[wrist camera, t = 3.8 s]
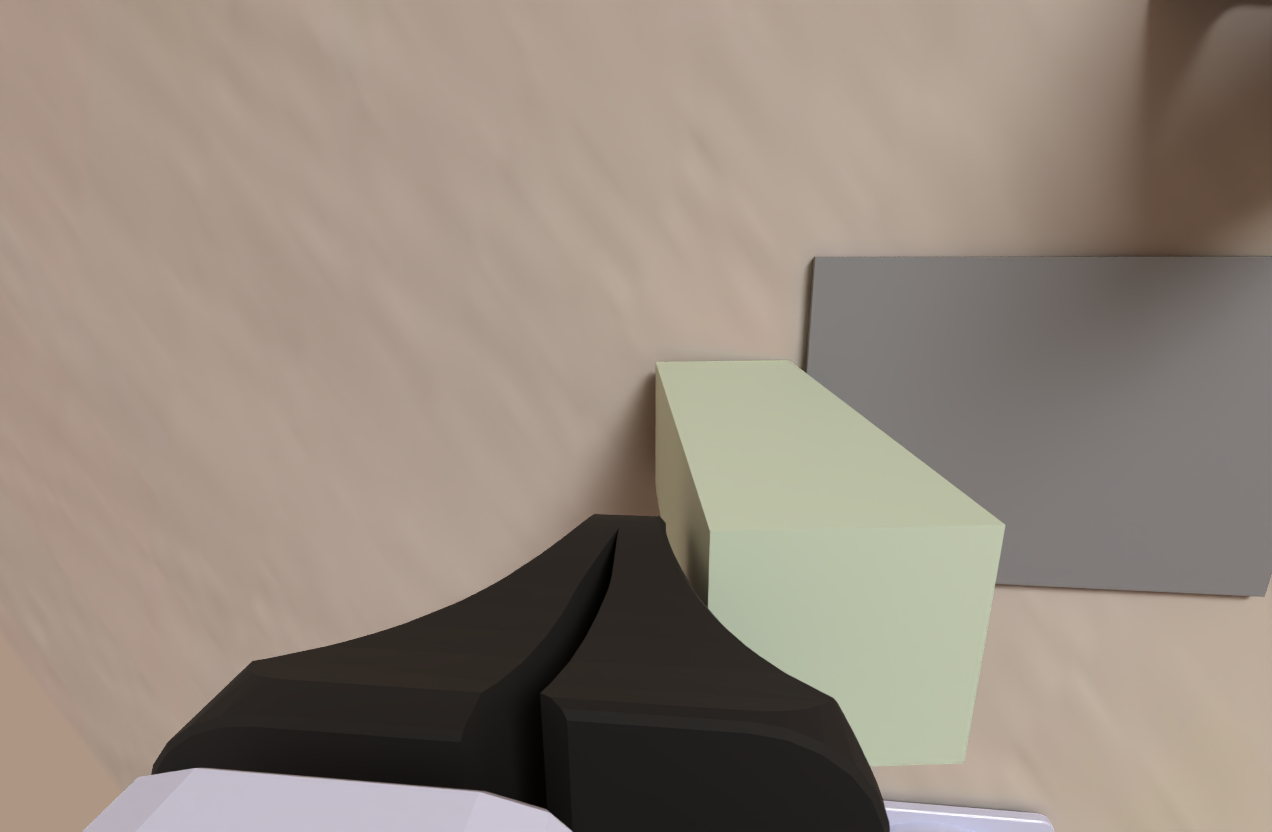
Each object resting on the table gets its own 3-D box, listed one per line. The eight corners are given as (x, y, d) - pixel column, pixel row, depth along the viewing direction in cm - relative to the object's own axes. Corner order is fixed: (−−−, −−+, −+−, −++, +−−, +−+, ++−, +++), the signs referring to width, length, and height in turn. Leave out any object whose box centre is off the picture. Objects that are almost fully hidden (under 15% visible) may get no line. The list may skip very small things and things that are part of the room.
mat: (1256, 591, 20) (1264, 596, 19) (791, 569, 21) (792, 574, 21) (1359, 255, 17) (1370, 256, 17) (813, 256, 18) (815, 257, 18)
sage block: (781, 484, 20) (964, 763, 10) (655, 486, 20) (703, 772, 10) (789, 359, 19) (1005, 525, 9) (655, 362, 19) (709, 531, 8)
